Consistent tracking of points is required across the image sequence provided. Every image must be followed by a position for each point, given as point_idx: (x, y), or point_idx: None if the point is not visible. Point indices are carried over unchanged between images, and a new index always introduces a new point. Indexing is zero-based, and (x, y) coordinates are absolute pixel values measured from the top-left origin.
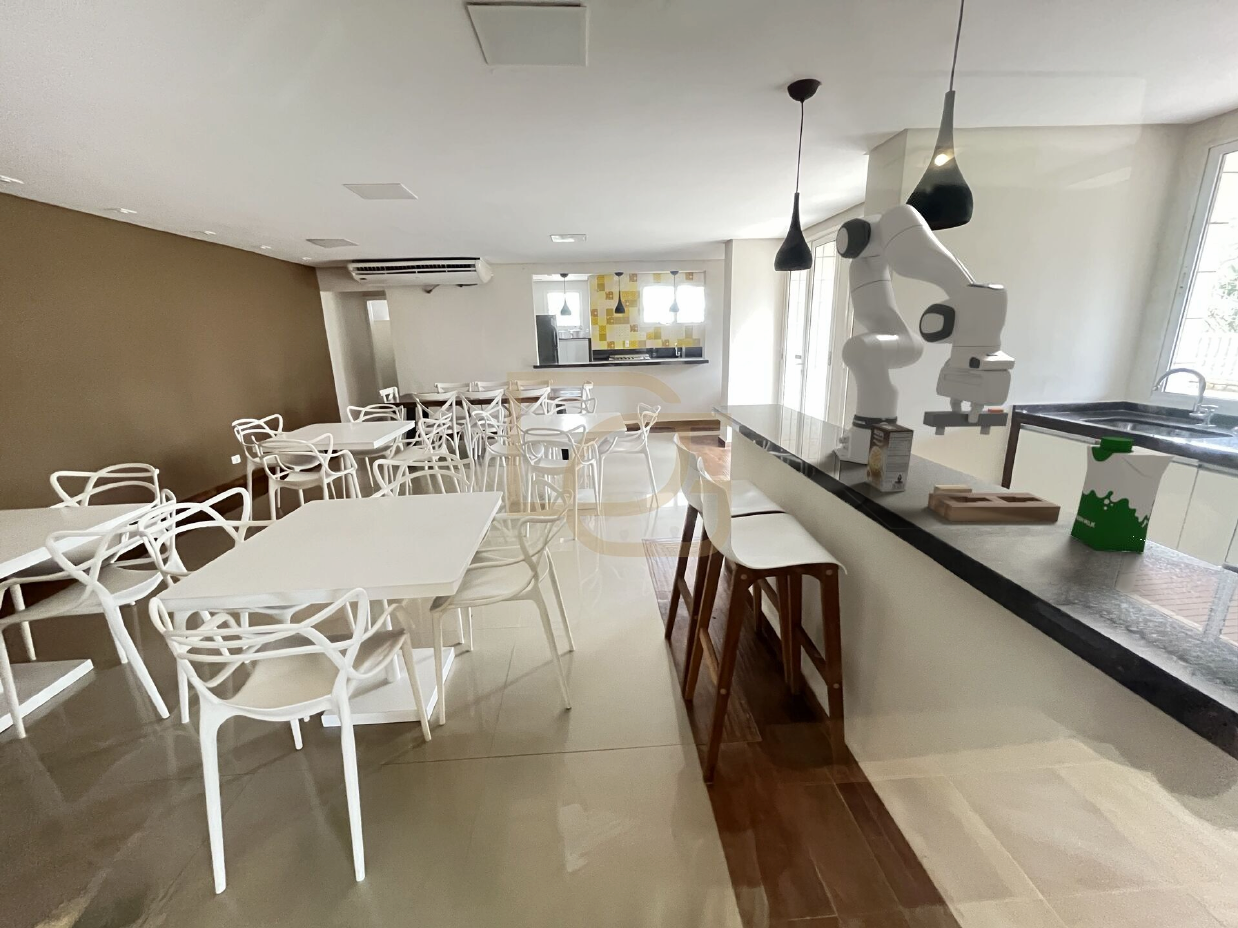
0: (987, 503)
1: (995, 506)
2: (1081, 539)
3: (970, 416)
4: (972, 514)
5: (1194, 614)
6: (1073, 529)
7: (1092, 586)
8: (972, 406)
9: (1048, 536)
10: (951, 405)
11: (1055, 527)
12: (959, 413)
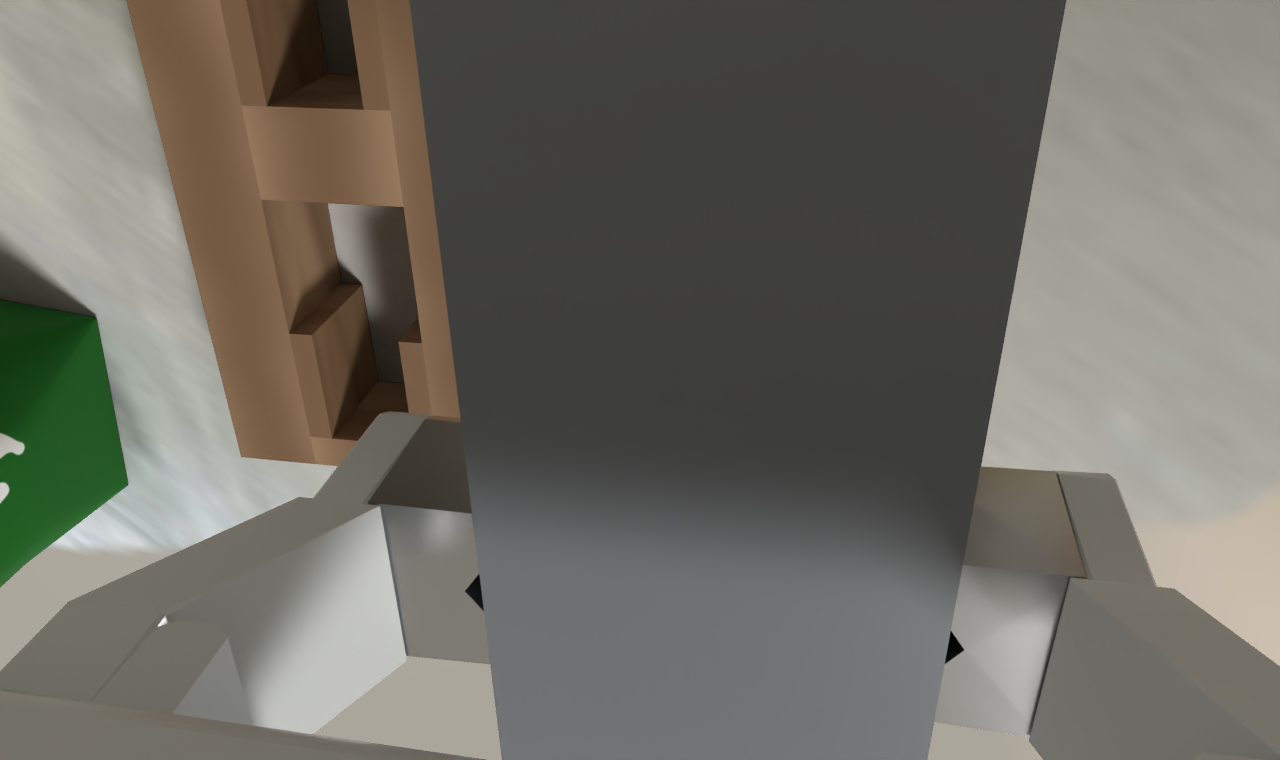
0: (200, 22)
1: (137, 38)
2: (2, 304)
3: (328, 482)
4: None
5: None
6: (38, 325)
7: None
8: (105, 638)
9: (44, 193)
10: (1254, 688)
11: (208, 333)
12: (515, 402)
